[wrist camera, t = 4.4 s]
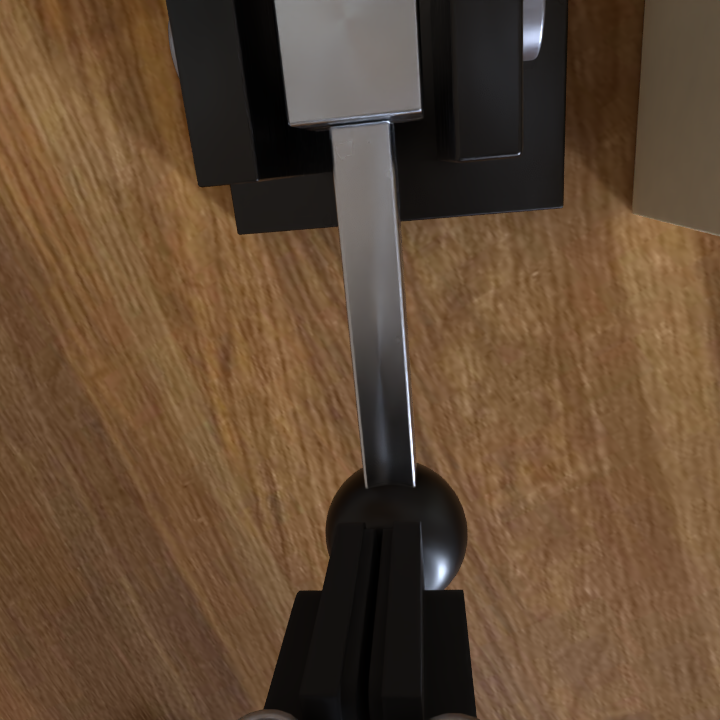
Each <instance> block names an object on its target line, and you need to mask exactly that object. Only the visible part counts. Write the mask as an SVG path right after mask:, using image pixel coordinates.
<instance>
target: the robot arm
mask: <svg viewBox="0 0 720 720" xmlns="http://www.w3.org/2000/svg"><path fill="white" fill-rule="evenodd" d="M238 720H479V719H478V718H477V716H476V706H475V697H474V687H473V678H472V668H471V658H470V649H469V639H468V630H467V620H466V611H465V601H464V593H463V590H425V577H424V561H423V546H422V531H421V521H394V524H393V529H383V537H382V548H381V558H380V566H379V555H378V545H377V535H376V530H375V529H366V523H365V522H339V523H338V524H337V528H336V532H335V536H334V541H333V545H332V550H331V554H330V559H329V563H328V567H327V572H326V576H325V581H324V585H323V590H322V591H299V592H298V593H297V595H296V598H295V601H294V604H293V608H292V611H291V615H290V618H289V622H288V625H287V629H286V632H285V636H284V639H283V643H282V646H281V650H280V653H279V657H278V660H277V664H276V668H275V671H274V675H273V678H272V682H271V685H270V689H269V692H268V696H267V699H266V703H265V706H264V709H263V710H259V711H255V712H252V713H249V714H247V715H245V716H243V717H241V718H240V719H238Z"/></svg>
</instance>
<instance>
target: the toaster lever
mask: <svg viewBox="0 0 720 720" xmlns="http://www.w3.org/2000/svg"><path fill="white" fill-rule="evenodd" d="M272 8H273V16H274V24H275V32H276V40H277V48H278V56H279V64H280V72H281V80H282V88H283V96H284V104H285V112H286V120H287V124H288V125H289V126H292V127H296V128H301V129H306V130H311V131H326V130H328V133H329V143H330V153H331V162H332V172H333V182H334V192H335V201H336V211H337V221H338V231H339V240H340V250H341V260H342V270H343V280H344V289H345V299H346V309H347V319H348V328H349V338H350V348H351V358H352V367H353V377H354V387H355V397H356V407H357V416H358V426H359V436H360V446H361V455H362V465H363V468H361V469H360V470H358V471H357V472H355V473H354V474H353V475H352V476H350V477H349V478H348V479H347V480H346V481H345V482H344V483H343V484H342V486H341V487H340V488H339V490H338V492H337V493H336V495H335V496H334V498H333V501H332V503H331V505H330V508H329V511H328V515H327V521H326V544H327V549H328V553H329V556H330V554H331V550H332V545H333V541H334V536H335V532H336V528H337V524H338V523H339V522H365V523H366V529H375V530H376V535H377V545H378V555H379V566H380V558H381V548H382V537H383V529H393V524H394V521H421V531H422V546H423V561H424V577H425V590H444V589H445V588H446V587H447V586H448V585H449V584H450V582H451V581H452V580H453V578H454V577H455V576H456V574H457V572H458V571H459V569H460V567H461V564H462V562H463V559H464V556H465V551H466V547H467V522H466V518H465V514H464V510H463V507H462V505H461V503H460V501H459V499H458V497H457V495H456V493H455V492H454V490H453V489H452V488H451V487H450V485H449V484H448V483H447V482H446V481H445V480H444V479H443V478H442V477H441V476H440V475H438V474H437V473H436V472H434V471H433V470H431V469H429V468H427V467H425V466H424V465H421V464H419V463H417V462H416V447H415V431H414V416H413V401H412V386H411V371H410V356H409V341H408V326H407V311H406V296H405V280H404V265H403V250H402V235H401V220H400V205H399V190H398V175H397V160H396V145H395V130H394V125H393V123H402V122H412V121H420V120H422V119H423V117H424V90H423V69H422V49H421V29H420V9H419V0H272Z"/></svg>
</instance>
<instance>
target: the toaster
mask: <svg viewBox="0 0 720 720" xmlns="http://www.w3.org/2000/svg"><path fill="white" fill-rule="evenodd" d="M632 213H633V214H635V215H639V216H643V217H647V218H651V219H655V220H659V221H663V222H667V223H671V224H674V225H678V226H682V227H686V228H690V229H694V230H698V231H702V232H706V233H710V234H713V235H717V236H720V0H645V11H644V27H643V43H642V59H641V75H640V91H639V107H638V123H637V139H636V155H635V171H634V188H633V204H632Z"/></svg>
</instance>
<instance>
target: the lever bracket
mask: <svg viewBox="0 0 720 720" xmlns="http://www.w3.org/2000/svg"><path fill="white" fill-rule="evenodd" d="M166 4H167V10H168V16H169V24H168V34H169V44H170V50H171V55H172V59H173V63H174V66H175V69H176V72H177V74H178V77H179V79H180V84H181V90H182V96H183V101H184V107H185V113H186V119H187V124H188V130H189V136H190V142H191V147H192V153H193V159H194V164H195V170H196V176H197V182H198V185H199V187H210V186H221V185H230V188H231V194H232V200H233V207H234V213H235V219H236V226H237V232H238V234H239V235H242V234H255V233H267V232H279V231H291V230H303V229H315V228H327V227H338V221H337V211H336V201H335V192H334V182H333V172H332V162H331V153H330V143H329V133H328V130H326V131H311V130H306V129H301V128H296V127H292V126H289V125H288V124H287V120H286V112H285V104H284V96H283V88H282V80H281V72H280V64H279V56H278V48H277V40H276V32H275V24H274V16H273V8H272V0H166ZM419 9H420V29H421V49H422V69H423V90H424V117H423V119H422V120H420V121H412V122H402V123H393V125H394V130H395V145H396V160H397V175H398V190H399V205H400V220H401V221H412V220H424V219H436V218H449V217H461V216H473V215H485V214H497V213H509V212H521V211H533V210H546V209H558V208H562V207H563V198H564V157H565V116H566V75H567V34H568V0H419Z"/></svg>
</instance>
